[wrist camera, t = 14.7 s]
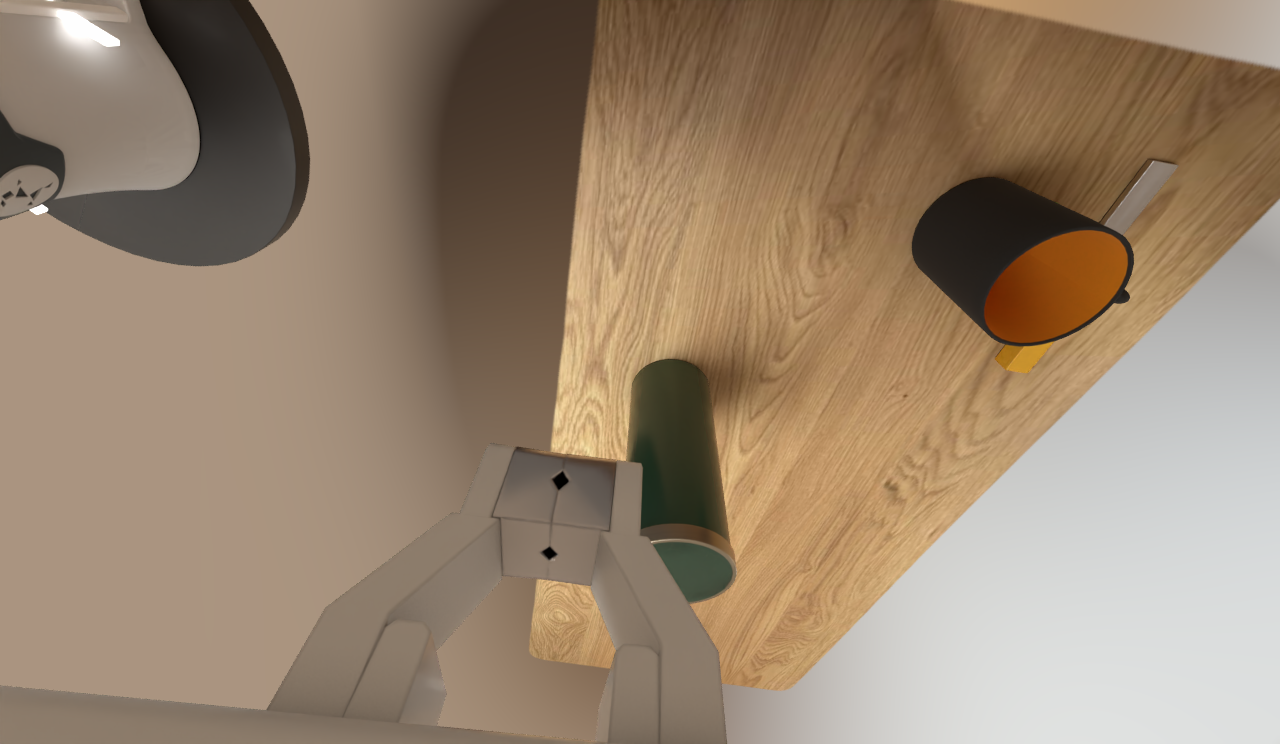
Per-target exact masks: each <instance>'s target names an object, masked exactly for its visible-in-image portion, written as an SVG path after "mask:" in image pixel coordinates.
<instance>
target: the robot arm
mask: <svg viewBox="0 0 1280 744" xmlns="http://www.w3.org/2000/svg"><path fill="white" fill-rule="evenodd" d="M199 148H200V136H199V127H198V122H197V118H196V114H195V111H194V108H193V105H192V102H191V99H190V97H189V95H188V92H187V90H186V88H185V86H184V84H183V82H182V80H181V78H180V76H179V75H178V73H177V71H176V70H175V68H174V66H173V65H172V63H171V62H170V60H169V59H168V57H167V56H166V54H165V53H164V51H163V50H162V48H161V47H160V45H159V44H158V42H157V40H156V39H155V37H154V35H153V34H152V32H151V30H150V28H149V26H148V24H147V21H146V18H145V15H144V12H143V9H142V6H141V3H140V0H0V220H2V219H6V218H9V217H12V216H15V215H18V214H20V213H23V212H26V211H29V210H31V211H32V212H34V213H35V214H40V213H43V212H46V211H47V210H48V209H47V208H46V207H44V206H43V204H45V203H47V202H50V201H52V200H54V199H59V198H65V197H70V196H76V195H83V194H90V193H98V192H108V191H122V190H161V189H166V188H170V187H173V186H175V185H177V184H179V183H181V182H182V181H183V180H185V179H186V178H187V177H188V176H189V175H190V173H191V172H192V170H193V169H194V167H195V165H196V162H197V159H198V155H199ZM642 472H643V467H642V465H641V463H635V462H627V461H619V460H617V461H616V460H614V459H605V458H597V457H589V456H581V455H572V454H560V453H554V452H548V451H540V450H535V449H529V448H522V447H514V446H507V445H501V444H495V443H490V445H489V446H488V447H487V449H486V450H485V453H484V455H483V457H482V460H481V463H480V465H479V467H478V470H477V472H476V475H475V477H474V479H473V482H472V484H471V487H470V489H469V492H468V494H467V497H466V499H465V501H464V504H463V506H462V509H461V511H460V513H450V514H449V515H448V516H446V517H445V518H444V519H442V520H441V521H440V522H438V523H437V524H436V525H434V526H433V527H432V528H430V529H429V530H428V531H426V532H425V533H424V534H423V535H421V536H420V537H418V538H417V539H416V540H414V541H413V542H412V543H411V544H409V545H408V546H407V547H405V548H404V549H403V550H401V551H400V552H399V553H397V554H396V555H395V556H393V557H392V558H391V559H389V560H388V561H387V562H385V563H384V564H383V565H381V566H380V567H379V568H377V569H376V570H375V571H373V572H372V573H371V574H370V575H368V576H367V577H365V578H364V579H363V580H361V581H360V582H359V583H357V584H356V585H355V586H354V587H352V588H351V589H350V590H348V591H347V592H346V593H345V594H343V595H342V596H340V597H339V598H338V599H336V600H335V601H334V602H332V603H331V604H330V605H328V606H327V607H326V608H325V609H324V611H323V613H322V614H321V616H320V618H319V620H318V621H317V623H316V625H315V627H314V628H313V630H312V632H311V633H310V635H309V637H308V639H307V640H306V642H305V644H304V646H303V647H302V649H301V651H300V653H299V654H298V656H297V658H296V660H295V661H294V663H293V665H292V666H291V668H290V670H289V672H288V673H287V675H286V677H285V679H284V681H283V682H282V684H281V686H280V687H279V689H278V691H277V692H276V694H275V696H274V698H273V699H272V701H271V703H270V705H269V706H268V708H267V710H257V709H247V708H235V707H225V706H214V705H204V704H192V703H181V702H172V701H161V700H150V699H139V698H129V697H117V696H107V695H97V694H86V693H74V692H65V691H53V690H43V689H32V688H22V687H11V686H0V744H727V739H726V728H725V716H724V706H723V695H722V684H721V673H720V662H719V652H718V650H717V648H716V647H715V645H714V643H713V642H712V640H711V639H710V637H709V635H708V634H707V632H706V630H705V629H704V627H703V626H702V624H701V622H700V621H699V619H698V617H697V616H696V614H695V613H694V611H693V609H692V608H691V606H690V604H689V603H688V601H687V600H686V598H685V596H684V595H683V593H682V592H681V590H680V588H679V587H678V585H677V583H676V582H675V580H674V579H673V577H672V575H671V574H670V572H669V570H668V569H667V567H666V566H665V564H664V562H663V561H662V559H661V557H660V556H659V554H658V553H657V551H656V549H655V548H654V546H653V544H652V543H651V541H650V540H649V538H648V537H645V536H640V525H641V499H642ZM502 576H510V577H520V578H532V579H543V580H547V579H548V580H551V581H558V582H565V583H572V584H579V585H586V586H591V590H592V593H593V595H594V598H595V600H596V603H597V605H598V608H599V610H600V612H601V615H602V617H603V620H604V622H605V625H606V627H607V630H608V632H609V634H610V637H611V639H612V642H613V644H614V647H615V649H616V652H615V655H614V658H613V662H612V665H611V669H610V672H609V675H608V679H607V682H606V685H605V689H604V692H603V696H602V699H601V702H600V706H599V712H598V722H597V731H596V741H589V740H578V739H568V738H557V737H545V736H536V735H525V734H514V733H503V732H493V731H482V730H470V729H461V728H450V727H439V726H437V724H438V720H439V717H440V714H441V710H442V707H443V704H444V701H445V697H446V690H445V686H444V682H443V677H442V673H441V669H440V665H439V661H438V657H437V652H436V651H437V650H438V649H439V648H440V646H441V645H442V644H443V643H444V642H445V641H446V640H447V639H448V638H449V637H450V636H451V634H452V633H453V632H454V631H455V630H456V629H457V628H458V627H459V626H460V625H461V623H462V622H463V621H464V620H465V619H466V618H467V617H468V616H469V615H470V614H471V613H472V611H473V610H474V609H475V608H476V607H477V606H478V605H479V604H480V603H481V601H483V599H484V598H485V597H486V596H487V595H488V594H489V593H490V592H491V591H492V590H493V588H494V587H495V586H496V585H497V584H498V583H499V582H500V581H501V580H502Z"/></svg>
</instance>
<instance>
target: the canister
mask: <svg viewBox="0 0 1280 744" xmlns="http://www.w3.org/2000/svg"><path fill="white" fill-rule="evenodd" d="M626 461H627V462H635V463H641V465H642V467H643V472H642V499H641V525H640V536H645V537H648V538H649V540H650V541H651V543H652V544H653V546H654V548H655V549H656V551H657V553H658V554H659V556H660V557H661V559H662V561H663V562H664V564H665V566H666V567H667V569H668V570H669V572H670V574H671V575H672V577H673V579H674V580H675V582H676V583H677V585H678V587H679V588H680V590H681V592H682V593H683V595H684V596H685V598H686V600H687V601H688V603H689V604H692V603H698V602H702V601H706V600H709V599H712V598H714V597H716V596H718V595H720V594H722V593H724V592H725V591H726V590H727V589H729V588H730V587H731V585H732V584H733V583H734V581H735V578H736V575H737V569H736V561H735V554H734V551H733V548H732V547H731V545H730V538H729V531H728V523H727V516H726V508H725V501H724V493H723V486H722V478H721V471H720V463H719V456H718V448H717V441H716V433H715V426H714V418H713V411H712V403H711V396H710V388H709V383H708V380H707V378H706V376H705V375H704V373H703V372H702V371H701V370H700V369H698V368H697V367H696V366H694V365H692V364H690V363H688V362H685V361H681V360H672V359H671V360H661V361H657V362H654V363H651V364H650V365H648V366H646V367H645V368H643V369H642V370H641V371H640V372H639V373H638V374H637V375H636V377H635V379H634V381H633V384H632V391H631V404H630V417H629V430H628V443H627V456H626Z"/></svg>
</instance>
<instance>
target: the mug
mask: <svg viewBox="0 0 1280 744" xmlns="http://www.w3.org/2000/svg"><path fill="white" fill-rule="evenodd" d="M912 254H913V258H914V261H915V263H916V264H917V266H918V268H919V269H920V270H921V271H922V272H923V273H925V274H926V275H927V276H928V277H929V278H930V279H931V280H932V281H933V282H934V283H935V284H936V285H937V286H938V287H939V288H940V289H941V290H942V291H943V292H944V293H945V294H946V295H947V296H948V297H949V298H950V299H952V300H953V301H954V302H955V303H956V304H957V305H958V306H959V307H960V308H961V309H962V310H963V311H964V312H965V313H966V314H967V315H968V316H969V317H970V318H971V319H972V320H973V321H974V322H975V323H977V324H978V325H979V326H980V327H981V328H982V329H983V330H984V331H985V332H986V333H987V334H988V335H989V336H990V337H991V338H993V339H994V340H996V341H998V342H1000V343H1003V344H1006V345H1011V346H1019V347H1022V346H1036V345H1042V344H1046V343H1050V342H1054V341H1057V340H1059V339H1062V338H1064V337H1067V336H1069V335H1071V334H1073V333H1075V332H1077V331H1079V330H1081V329H1082V328H1084V327H1085V326H1087V325H1089V324H1090V323H1092V322H1093V321H1094V320H1096V319H1097V318H1098V317H1100V316H1101V315H1102V314H1103V313H1104V312H1105V311H1106V310H1107V309H1108V308H1109V307H1111V306H1112V305H1113V303H1117V304H1121V303H1125V302H1127V301H1128V300H1129V299H1130V295H1129V293H1128V292H1127V291H1126V290H1125V287H1126V285H1127V283H1128V281H1129V279H1130V276H1131V274H1132V270H1133V265H1134V254H1133V251H1132V248H1131V245H1130V243H1129V242H1128V241H1127V239H1126V238H1125V237H1124V236H1123V235H1121V234H1120V233H1118V232H1117V231H1115V230H1113V229H1111V228H1109V227H1107V226H1105V225H1103V224H1100V223H1098V222H1096V221H1094V220H1092V219H1090V218H1088V217H1085V216H1083V215H1081V214H1079V213H1077V212H1075V211H1073V210H1070V209H1068V208H1066V207H1064V206H1062V205H1060V204H1058V203H1055V202H1053V201H1051V200H1049V199H1047V198H1045V197H1043V196H1040V195H1038V194H1036V193H1034V192H1032V191H1030V190H1028V189H1025V188H1023V187H1021V186H1019V185H1017V184H1015V183H1012V182H1010V181H1007V180H1005V179H1000V178H994V177H993V178H980V179H975V180H971V181H969V182H966V183H963V184H961V185H959V186H957V187H955V188H953V189H951V190H950V191H948V192H947V193H945V194H944V195H942V196H941V197H940V198H939V199H938V200H936V201H935V202H934V203H933V204H932V205H931V206H930V208H929V209H928V210H927V211H926V212H925V214H924V215H923V217H922V218H921V220H920V221H919V223H918V225H917V227H916V230H915V233H914V236H913V241H912Z"/></svg>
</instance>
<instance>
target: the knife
mask: <svg viewBox="0 0 1280 744" xmlns="http://www.w3.org/2000/svg"><path fill="white" fill-rule="evenodd" d="M1178 166H1179V165H1176V164H1172V163H1167V162H1162V161H1156V160H1151V159H1148V160H1147V162H1146V163H1145V164H1144V165H1143V167H1142V168H1141V169H1140V171H1139V172H1138V173H1137V175H1136V176H1135V177H1134V179H1133V180H1132V181H1131V182H1130V184H1129V185H1128V186H1127V188H1126V189H1125V190H1124V192H1123V193H1122V194H1121V196H1120V197H1119V198H1118V199H1117V201H1116V202H1115V203H1114V205H1113V206H1112V207H1111V209H1110V210H1109V211H1108V213H1107V214H1106V215H1105V217H1104V218H1103V219H1102V220H1101V222H1100V224H1103V225H1105V226H1107V227H1109V228H1111V229H1113V230H1115V231H1117V232H1118V233H1120V234H1121V235H1123V234H1124V233H1125V232H1126V231H1127V229H1128V228H1129V227H1130V226H1131V224H1132V223H1133V222H1134V221H1135V219H1136V218H1137V217H1138V216H1139V214H1140V213H1141V212H1142V211H1143V210H1144V208H1145V207H1146V206H1147V205H1148V203H1149V202H1150V201H1151V200H1152V198H1153V197H1154V196H1155V195H1156V193H1157V192H1158V191H1159V190H1160V188H1161V187H1162V186H1163V185H1164V183H1165V182H1166V181H1167V180H1168V179H1169V177H1170V176H1171V175H1172V174H1173V172H1174V171H1175V170H1176V169H1177V167H1178ZM1052 344H1053V342H1050V343H1046V344H1042V345H1036V346H1022V347H1019V346H1011V345H1005V346H1004V347H1003V349H1002V350H1001V351H1000V353H999V354H998V355H997V357H996V358H995V360H996V361H997V362H998V363H999V364H1000V365H1001V366H1002V367H1003V368H1004V369H1005V370H1008V371H1015V372H1021V373H1028V372H1029V371H1030V370H1031V369H1032V368H1033V366H1034V365H1035V364H1036V363H1037V362H1038V360H1039V359H1040V358H1041V357H1042V356H1043V354H1044V353H1045V352H1046V351H1047V350H1048V348H1049V347H1050V346H1051V345H1052Z"/></svg>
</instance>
